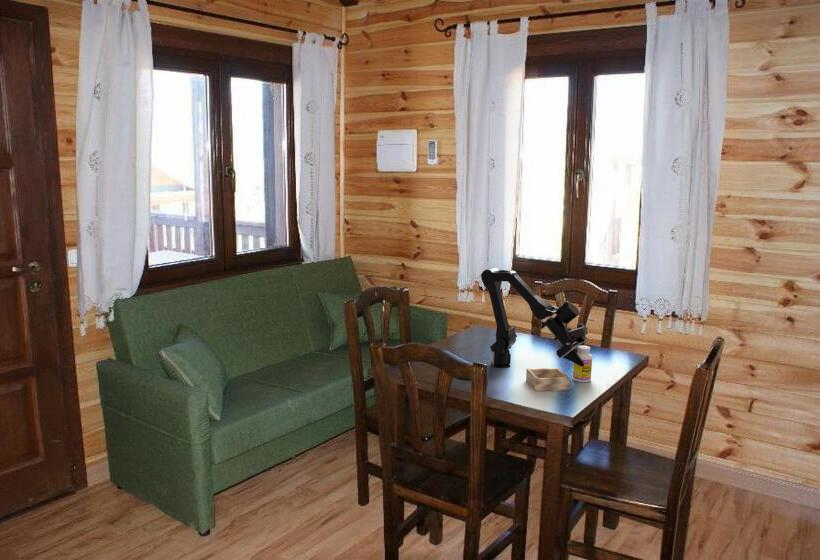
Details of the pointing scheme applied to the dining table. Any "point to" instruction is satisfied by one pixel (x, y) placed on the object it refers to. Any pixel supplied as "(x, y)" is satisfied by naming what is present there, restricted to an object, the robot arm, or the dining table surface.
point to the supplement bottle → (583, 372)
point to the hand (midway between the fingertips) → (586, 363)
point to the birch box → (547, 379)
